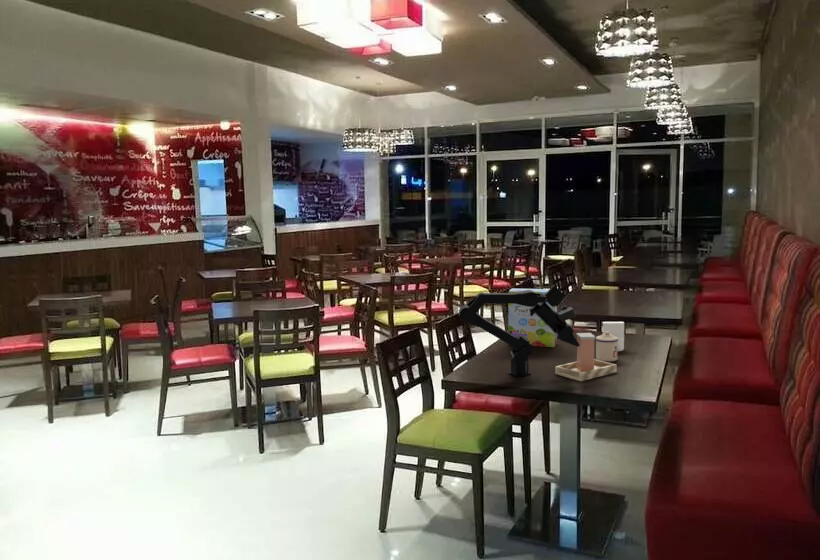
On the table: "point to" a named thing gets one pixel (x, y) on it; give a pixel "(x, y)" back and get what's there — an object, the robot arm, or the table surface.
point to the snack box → (530, 323)
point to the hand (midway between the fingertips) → (576, 343)
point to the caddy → (585, 351)
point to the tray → (574, 373)
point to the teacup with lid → (606, 347)
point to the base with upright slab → (615, 332)
